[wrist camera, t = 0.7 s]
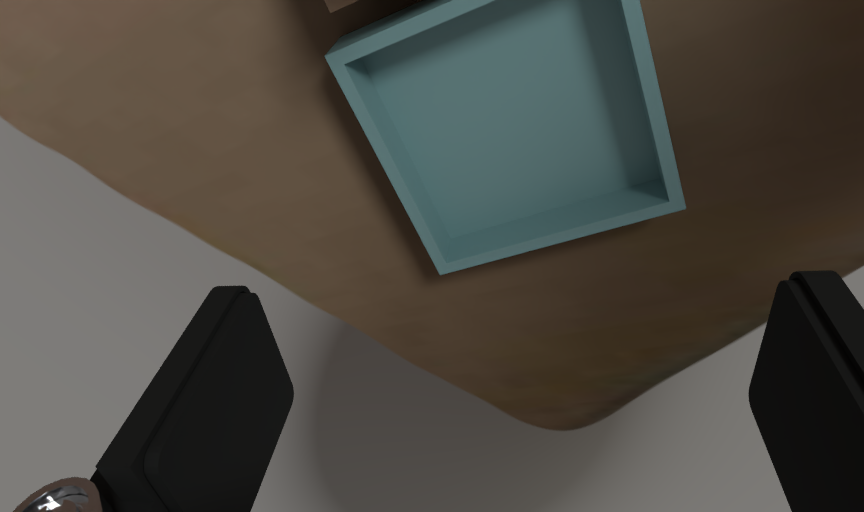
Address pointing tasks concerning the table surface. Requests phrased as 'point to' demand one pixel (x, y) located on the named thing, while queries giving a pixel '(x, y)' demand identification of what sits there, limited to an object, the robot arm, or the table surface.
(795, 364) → the robot arm
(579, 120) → the tray
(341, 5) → the block
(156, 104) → the table surface
